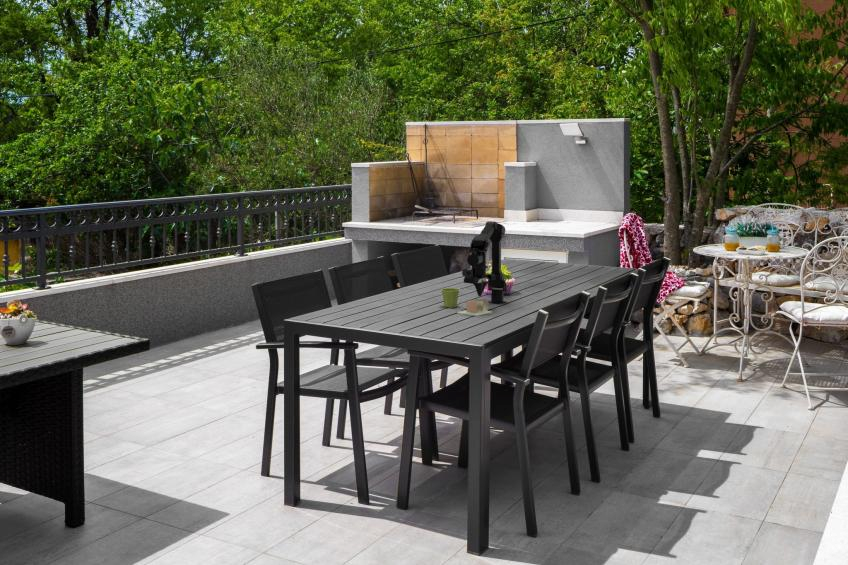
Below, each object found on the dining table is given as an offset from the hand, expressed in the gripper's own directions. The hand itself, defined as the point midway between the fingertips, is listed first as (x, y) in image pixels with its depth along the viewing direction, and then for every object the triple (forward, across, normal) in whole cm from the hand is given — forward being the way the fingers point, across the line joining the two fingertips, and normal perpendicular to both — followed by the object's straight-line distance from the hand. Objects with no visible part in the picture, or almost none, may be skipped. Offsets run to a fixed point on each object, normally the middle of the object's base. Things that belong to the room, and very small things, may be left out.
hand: (479, 296), depth 451 cm
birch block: (+4, -3, 0) cm, 6 cm away
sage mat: (+8, +4, 0) cm, 8 cm away
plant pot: (+8, -2, -19) cm, 21 cm away
